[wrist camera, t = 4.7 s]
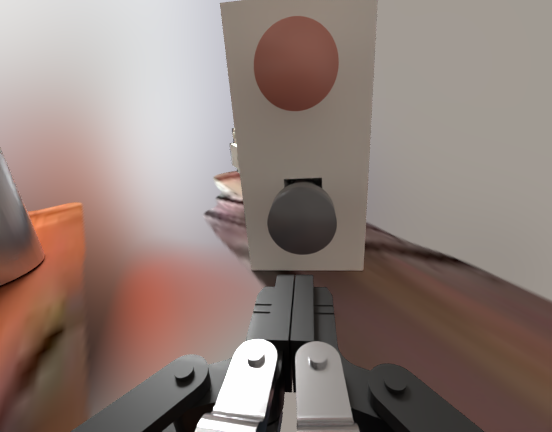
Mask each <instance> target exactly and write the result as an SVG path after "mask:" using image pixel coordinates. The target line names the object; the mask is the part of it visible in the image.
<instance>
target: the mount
mask: <svg viewBox="0 0 552 432" xmlns="http://www.w3.org/2000/svg"><path fill="white" fill-rule="evenodd" d="M377 2H378V0H241V1H233V2H225V3H220V7H221V16H222V24H223V33H224V42H225V49H226V59H227V67H228V76H229V83H230V93H231V101H232V110H233V118H234V127H235V135H236V144H237V152H238V161H239V169H240V178H241V186H242V195H243V203H244V212H245V220H246V229H247V237H248V246H249V254H250V263H251V270H355V271H363V268H364V249H365V230H366V211H367V210H366V209H367V191H368V173H369V153H370V135H371V115H372V97H373V78H374V59H375V40H376V21H377ZM292 16H304V17H308V18H311V19H314V20H316V21H317V22H319V23H320V24H322V25H323V26H324V27H325V28H326V29H327V30H328V31H329V33H330V34H331V36H332V37H333V39H334V41H335V44H336V47H337V50H338V56H339V67H338V73H337V77H336V80H335V83H334V85H333V87H332V89H331V90H330V92H329V93H328V95H327V96H326V97H325V98H324V99H323V100H322V101H321V102H320V103H318V104H317V105H315V106H313V107H311V108H309V109H306V110H303V111H287V110H283V109H281V108H278V107H276V106H275V105H273V104H272V103H271V102H269V101H268V100H267V99H266V98H265V97H264V95H263V94H262V93H261V91H260V89H259V87H258V85H257V82H256V79H255V74H254V56H255V51H256V48H257V45H258V43H259V41H260V39H261V38H262V36H263V34H264V33H265V32H266V31H267V30H268V29H269V28H270V27H271V26H272V25H273V24H275V23H276V22H278V21H280V20H281V19H284V18H287V17H292ZM302 178H311V179H312V180H313V181H314V183H315V185H317V186H319V187H321V188H322V189H323V190H325V191H326V192H327V193H328V195H329V196H330V198H331V199H332V202H333V205H334V209H335V214H336V219H337V228H336V233H335V235H334V237H333V239H332V240H331V242H330V243H329V244H328V245H327V246H326V247H325V248H323V249H322V250H320V251H318V252H316V253H312V254H308V255H298V254H293V253H290V252H287V251H285V250H283V249H282V248H280V247H279V246H278V245H277V244H276V243H275V242H274V241H273V239H272V238H271V236H270V234H269V231H268V226H267V220H268V215H269V212H270V209H271V206H272V203H273V200H274V198H275V197H276V195H277V194H278V193H279V192H280V191H281V190H282V189H283V188H285V187H286V186H288V185H291V184H293V183H294V182H295V180H296V179H302Z"/></svg>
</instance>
